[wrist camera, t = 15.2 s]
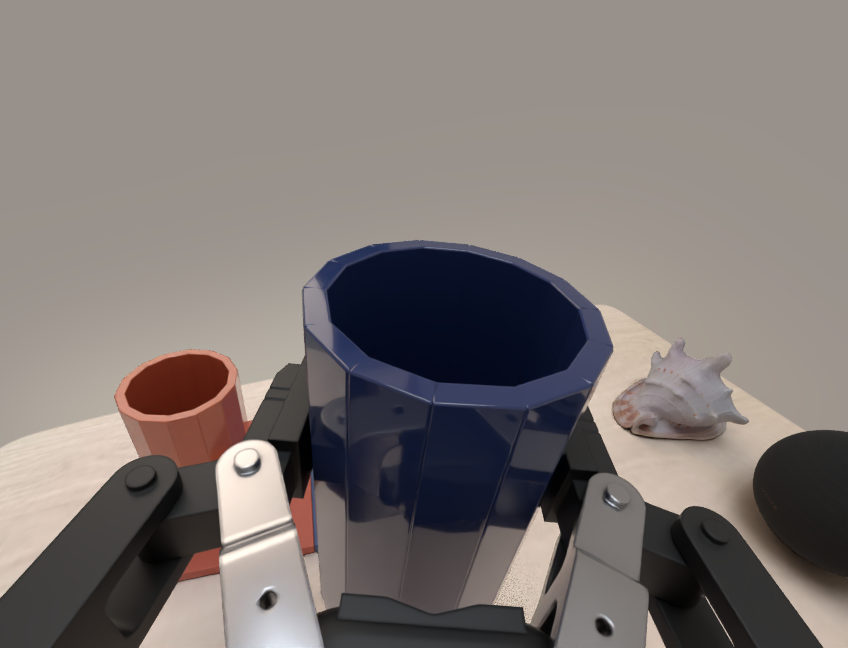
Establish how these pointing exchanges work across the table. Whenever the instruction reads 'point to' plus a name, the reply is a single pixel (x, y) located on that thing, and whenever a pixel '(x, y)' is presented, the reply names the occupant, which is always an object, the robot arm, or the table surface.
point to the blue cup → (439, 414)
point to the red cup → (184, 406)
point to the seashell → (679, 398)
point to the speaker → (807, 495)
